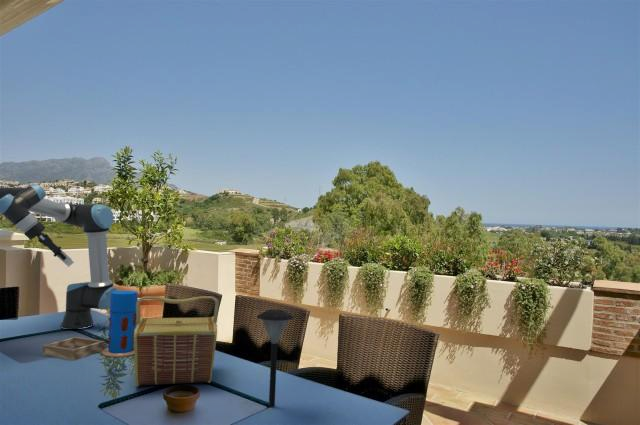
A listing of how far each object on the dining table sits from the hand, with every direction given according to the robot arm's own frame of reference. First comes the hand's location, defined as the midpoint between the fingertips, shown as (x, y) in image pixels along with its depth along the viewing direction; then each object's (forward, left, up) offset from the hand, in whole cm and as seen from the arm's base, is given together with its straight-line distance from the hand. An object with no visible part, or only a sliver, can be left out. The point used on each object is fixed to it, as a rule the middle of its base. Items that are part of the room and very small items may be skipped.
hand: (70, 263), depth 199 cm
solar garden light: (+18, +105, -38) cm, 113 cm away
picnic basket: (+9, +62, -38) cm, 73 cm away
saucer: (-10, +21, -38) cm, 44 cm away
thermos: (-10, +20, -37) cm, 44 cm away
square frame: (0, +5, -38) cm, 38 cm away
